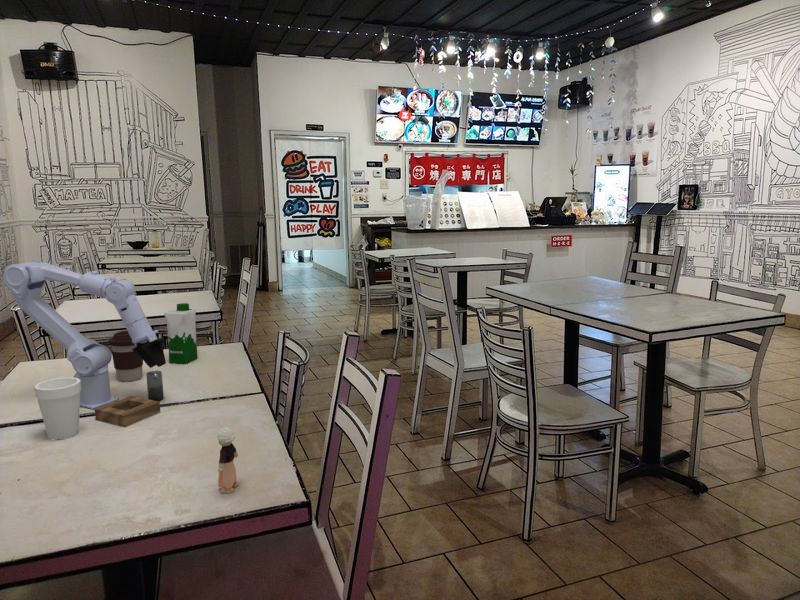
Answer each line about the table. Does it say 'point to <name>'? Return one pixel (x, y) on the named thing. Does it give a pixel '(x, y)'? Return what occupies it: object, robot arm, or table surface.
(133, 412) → the square wooden ring
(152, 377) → the round peg
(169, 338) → the milk carton
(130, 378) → the coffee cup
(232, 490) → the grandmother figurine
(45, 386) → the foam cup
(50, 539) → the table surface
